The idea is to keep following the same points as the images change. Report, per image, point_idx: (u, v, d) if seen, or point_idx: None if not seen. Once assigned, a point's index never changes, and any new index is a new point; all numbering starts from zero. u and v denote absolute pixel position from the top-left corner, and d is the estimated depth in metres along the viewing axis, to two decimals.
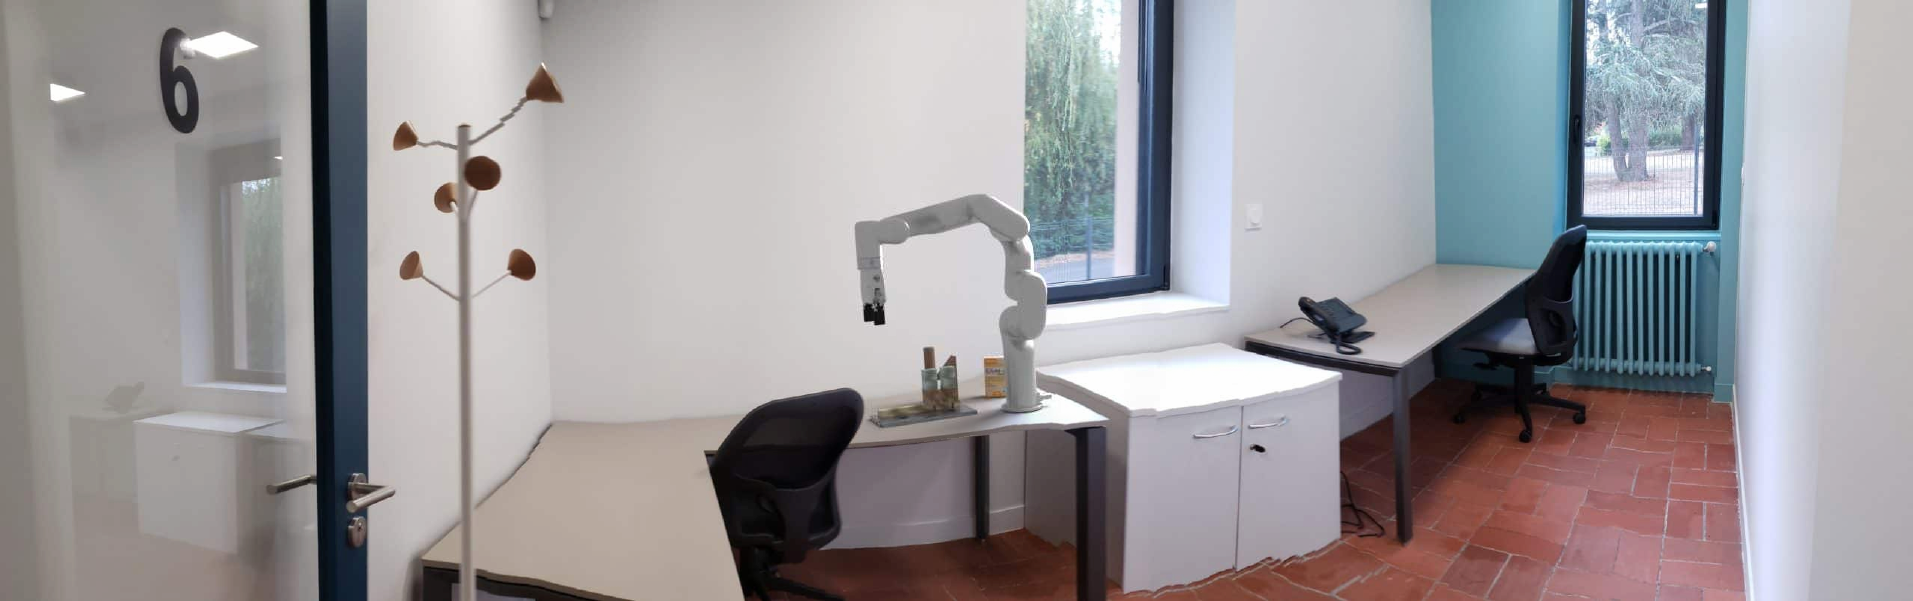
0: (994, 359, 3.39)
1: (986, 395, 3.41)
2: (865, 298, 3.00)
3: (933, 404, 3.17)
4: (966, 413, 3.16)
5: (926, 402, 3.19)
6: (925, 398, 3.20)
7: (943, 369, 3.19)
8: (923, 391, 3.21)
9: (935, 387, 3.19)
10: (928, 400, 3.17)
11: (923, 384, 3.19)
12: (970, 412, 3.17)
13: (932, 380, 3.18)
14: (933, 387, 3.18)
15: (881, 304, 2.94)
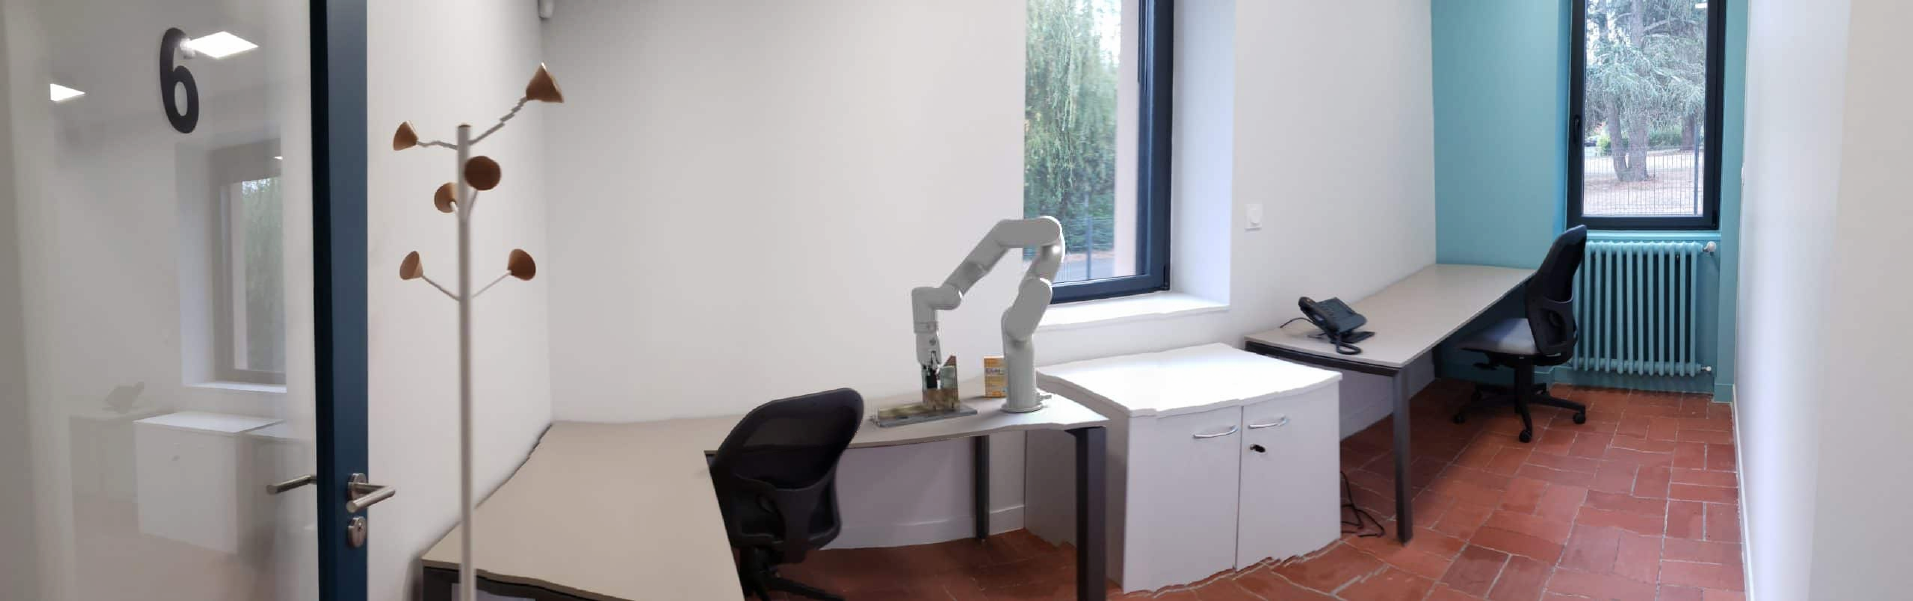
0: (994, 359, 3.39)
1: (986, 395, 3.41)
2: (921, 360, 3.18)
3: (933, 404, 3.17)
4: (966, 413, 3.16)
5: (926, 402, 3.19)
6: (925, 398, 3.20)
7: (943, 369, 3.19)
8: (923, 391, 3.21)
9: None
10: (928, 400, 3.17)
11: (923, 384, 3.19)
12: (970, 412, 3.17)
13: None
14: None
15: None
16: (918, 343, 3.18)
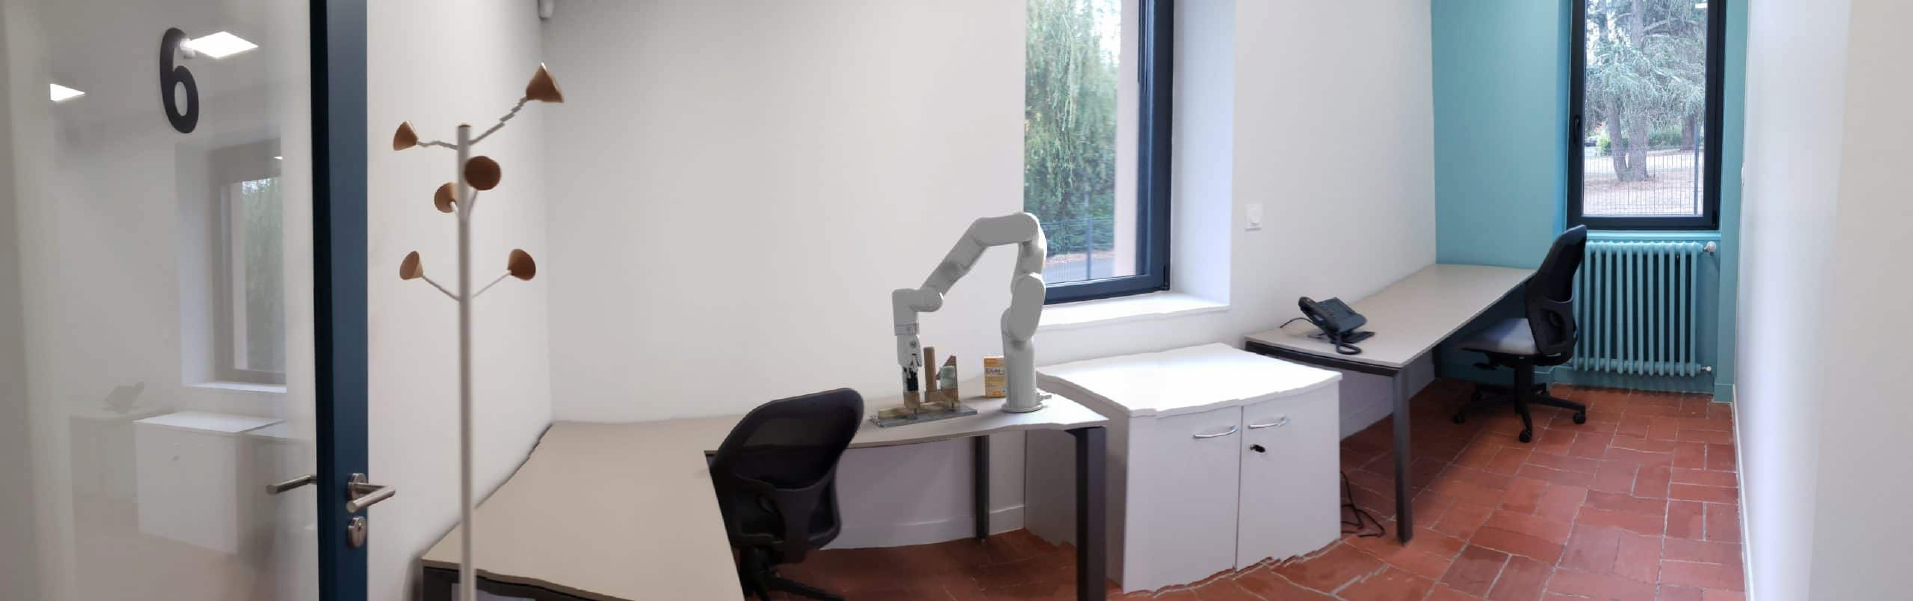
0: (994, 359, 3.39)
1: (986, 395, 3.41)
2: (902, 362, 3.15)
3: (914, 407, 3.15)
4: (966, 413, 3.16)
5: (907, 405, 3.17)
6: (906, 401, 3.18)
7: (943, 369, 3.19)
8: (904, 394, 3.19)
9: None
10: (909, 403, 3.15)
11: (904, 387, 3.17)
12: (970, 412, 3.17)
13: None
14: None
15: None
16: (899, 345, 3.16)
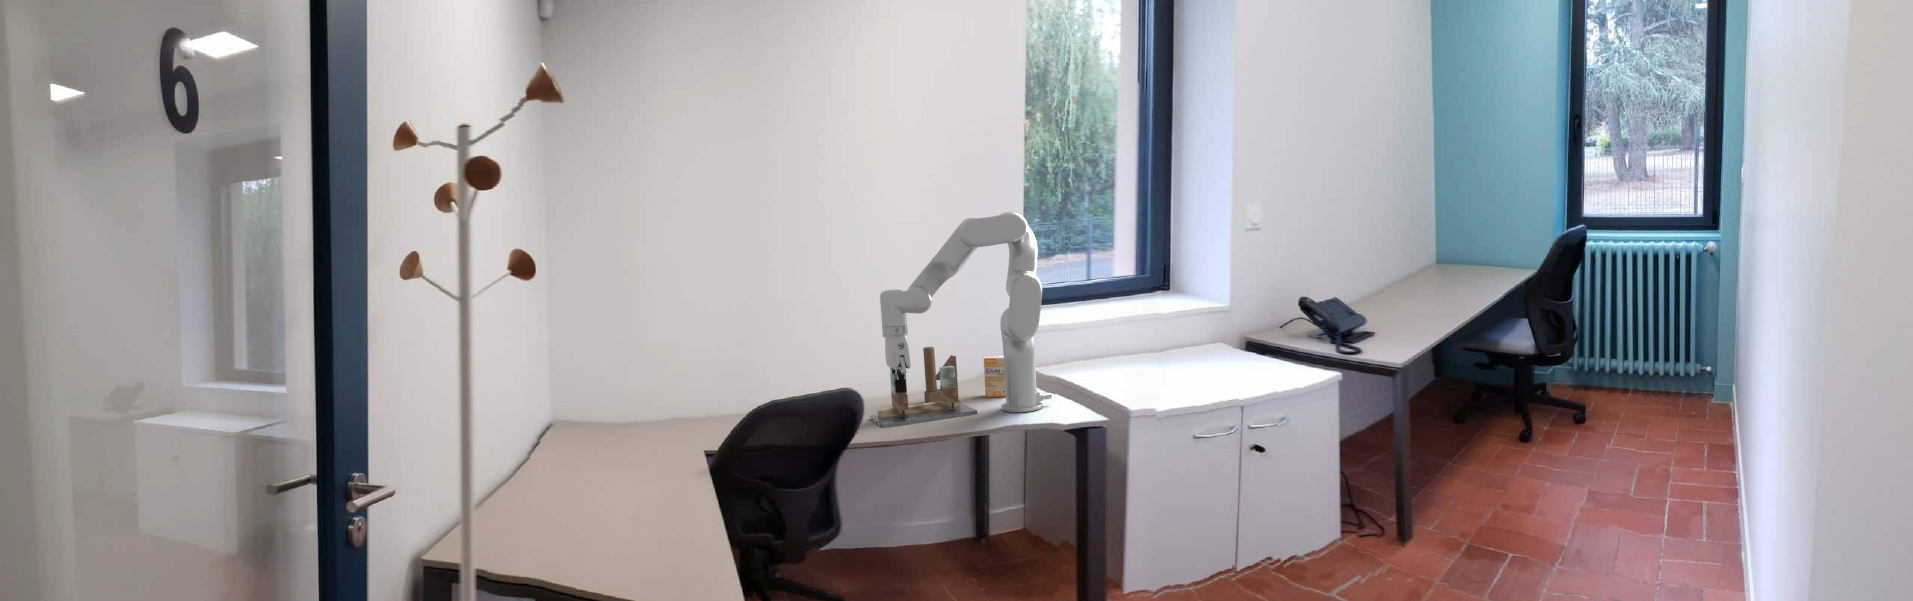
0: (994, 359, 3.39)
1: (986, 395, 3.41)
2: (890, 364, 3.14)
3: (902, 408, 3.13)
4: (966, 413, 3.16)
5: (895, 406, 3.16)
6: (894, 402, 3.16)
7: (943, 369, 3.19)
8: (892, 395, 3.17)
9: None
10: (897, 404, 3.14)
11: (892, 388, 3.15)
12: (970, 412, 3.17)
13: None
14: None
15: None
16: (887, 347, 3.14)
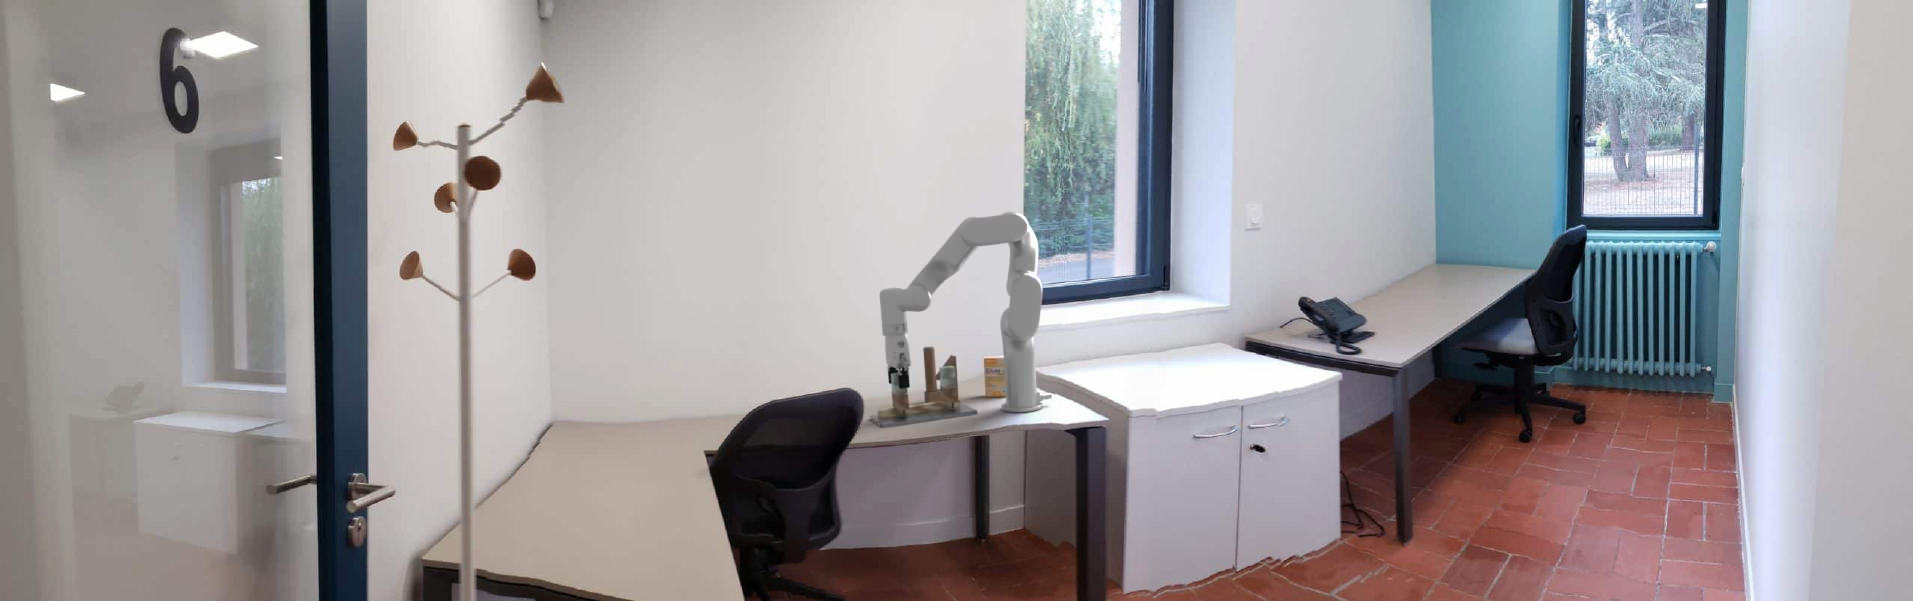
0: (994, 359, 3.39)
1: (986, 395, 3.41)
2: (890, 362, 3.14)
3: (902, 408, 3.13)
4: (966, 413, 3.16)
5: (896, 406, 3.16)
6: (895, 402, 3.16)
7: (943, 369, 3.19)
8: (893, 395, 3.17)
9: (905, 391, 3.15)
10: (897, 404, 3.14)
11: (893, 388, 3.15)
12: (970, 412, 3.17)
13: None
14: (903, 391, 3.15)
15: (906, 369, 3.08)
16: (887, 345, 3.14)
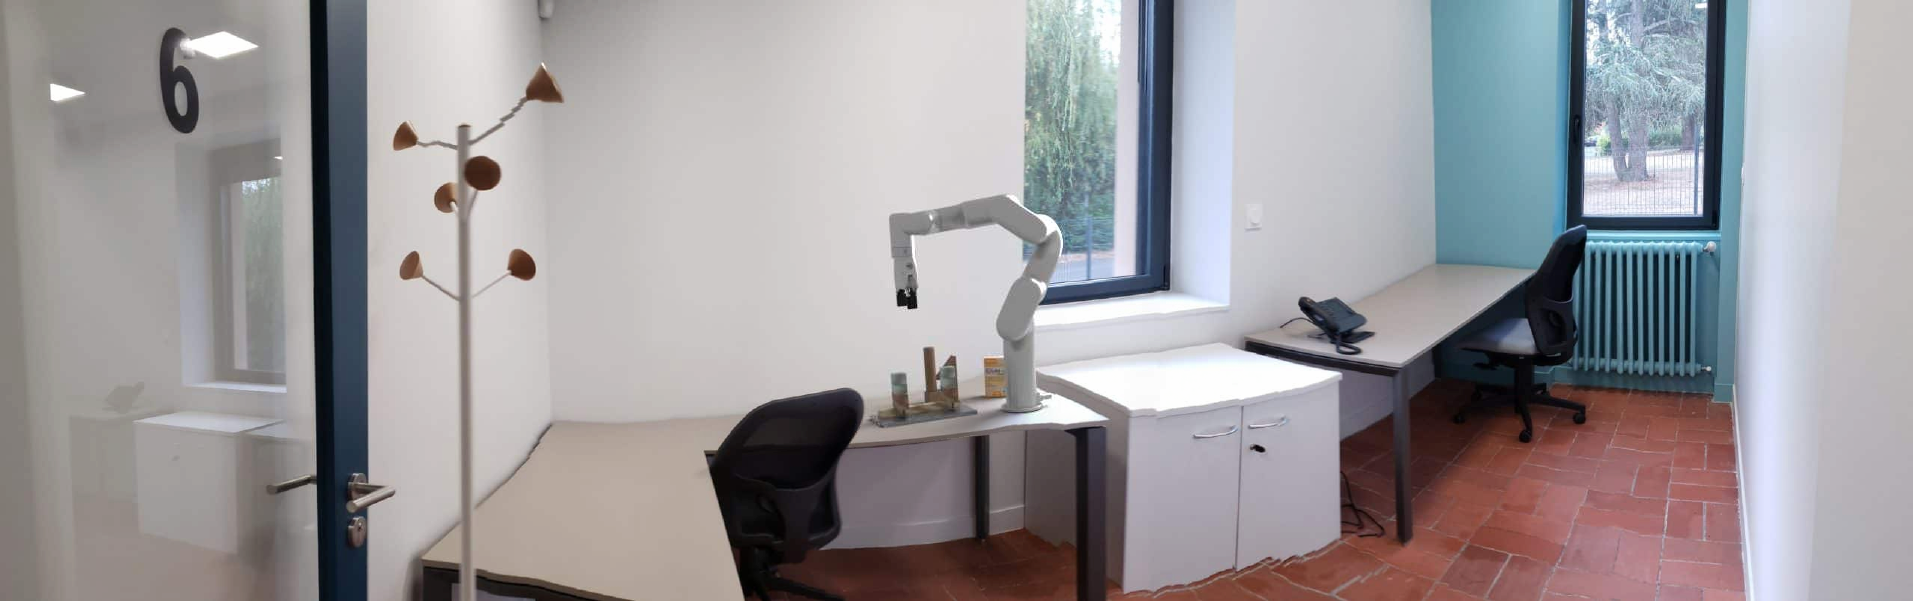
0: (994, 359, 3.39)
1: (986, 395, 3.41)
2: (899, 284, 3.24)
3: (902, 408, 3.13)
4: (966, 413, 3.16)
5: (896, 406, 3.16)
6: (895, 402, 3.16)
7: (943, 369, 3.19)
8: (893, 395, 3.17)
9: (905, 391, 3.15)
10: (897, 404, 3.14)
11: (893, 388, 3.15)
12: (970, 412, 3.17)
13: (902, 384, 3.15)
14: (903, 391, 3.15)
15: (914, 289, 3.18)
16: (896, 268, 3.24)
